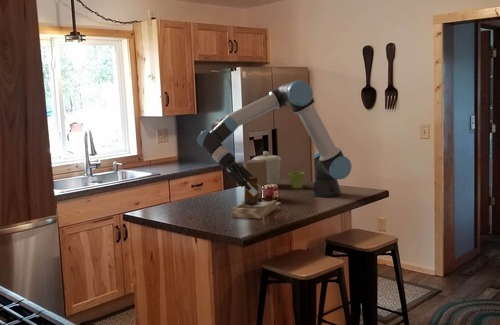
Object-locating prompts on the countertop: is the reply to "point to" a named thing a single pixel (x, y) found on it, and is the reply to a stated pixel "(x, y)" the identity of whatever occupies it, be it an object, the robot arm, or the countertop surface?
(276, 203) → the trivet
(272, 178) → the canister
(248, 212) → the open wooden frame
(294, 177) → the plant pot
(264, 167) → the block
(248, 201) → the condiment
